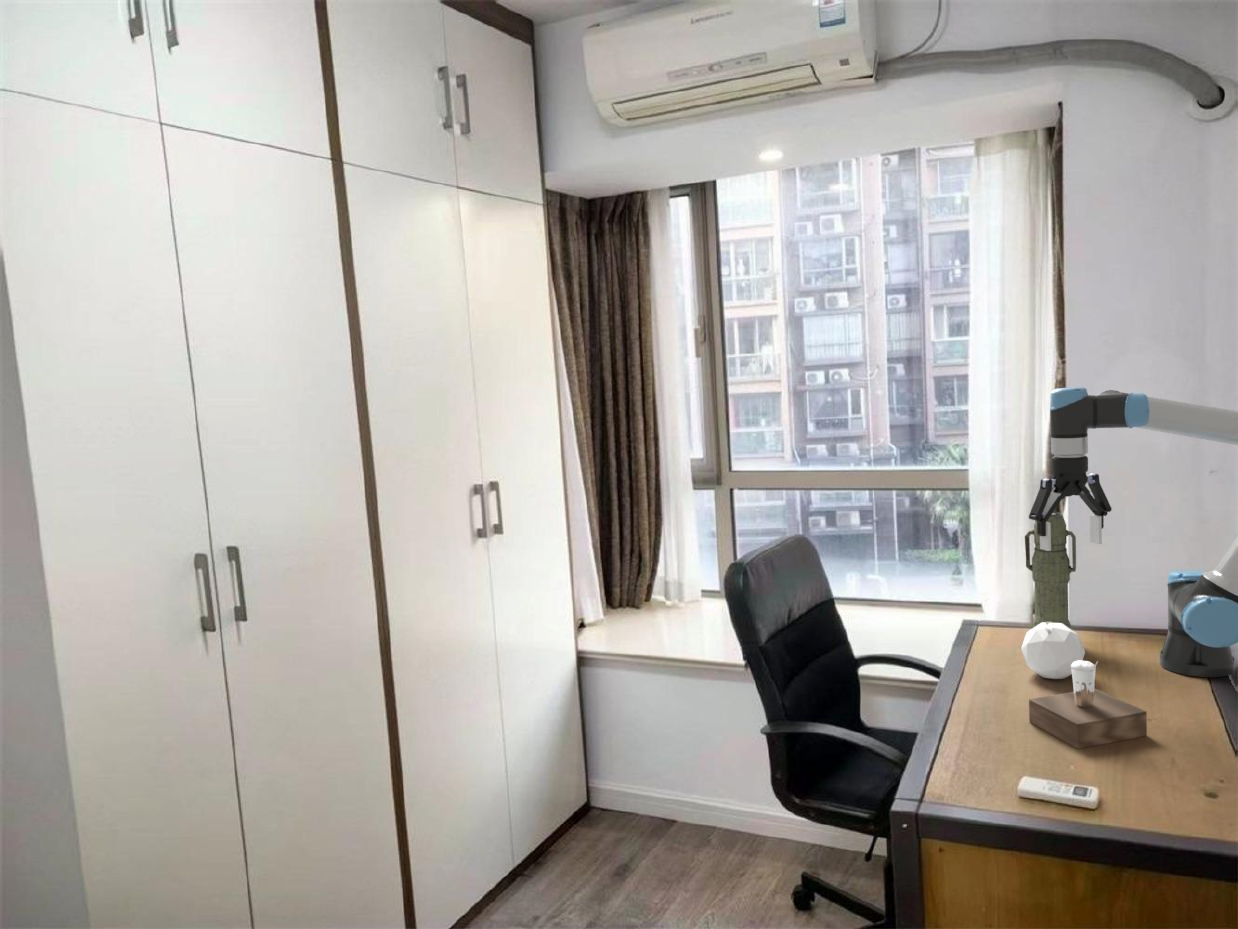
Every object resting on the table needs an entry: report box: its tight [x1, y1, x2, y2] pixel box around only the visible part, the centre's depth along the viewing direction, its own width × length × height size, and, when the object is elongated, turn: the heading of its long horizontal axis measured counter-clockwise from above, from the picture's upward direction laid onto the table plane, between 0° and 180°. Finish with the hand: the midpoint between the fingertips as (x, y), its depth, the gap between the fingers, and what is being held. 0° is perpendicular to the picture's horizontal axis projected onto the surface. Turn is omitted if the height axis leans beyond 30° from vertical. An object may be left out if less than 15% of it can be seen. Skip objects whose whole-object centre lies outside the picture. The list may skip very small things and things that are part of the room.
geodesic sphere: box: [1020, 622, 1086, 680], centre depth 211 cm, size 14×14×14 cm
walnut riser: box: [1028, 687, 1148, 750], centre depth 182 cm, size 16×14×5 cm
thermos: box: [1024, 511, 1077, 630], centre depth 232 cm, size 9×12×35 cm
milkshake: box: [1071, 659, 1099, 708], centre depth 182 cm, size 4×5×10 cm
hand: (1070, 546), depth 206 cm, fingers open, 13 cm apart
